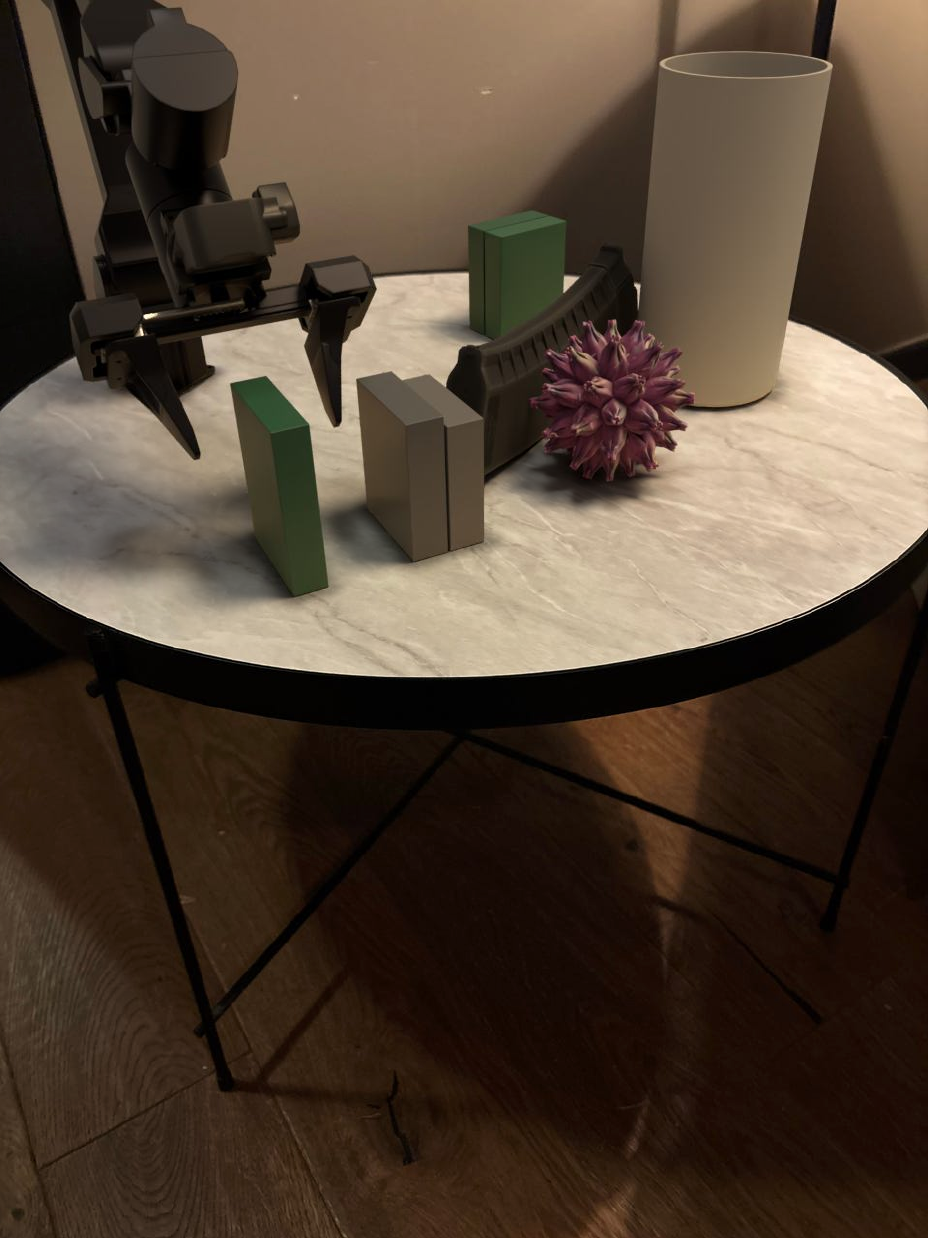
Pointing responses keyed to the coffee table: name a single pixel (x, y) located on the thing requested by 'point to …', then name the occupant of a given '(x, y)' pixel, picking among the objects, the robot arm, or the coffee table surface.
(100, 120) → the robot arm
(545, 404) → the flower
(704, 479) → the coffee table surface
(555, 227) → the green books
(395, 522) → the grey books
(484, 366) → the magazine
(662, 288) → the cylinder vase
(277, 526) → the green book
